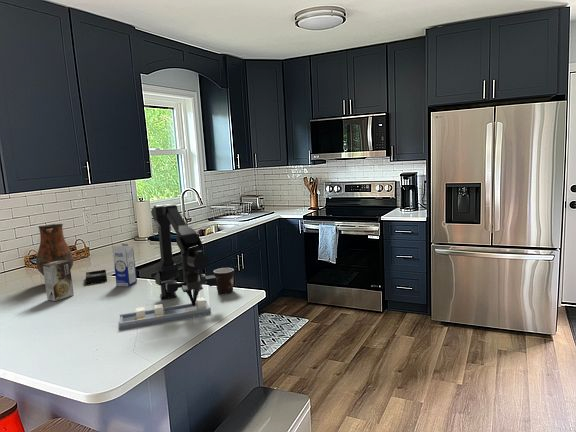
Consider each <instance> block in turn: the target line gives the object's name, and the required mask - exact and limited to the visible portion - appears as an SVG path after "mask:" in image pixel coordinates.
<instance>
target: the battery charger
mask: <svg viewBox="0 0 576 432" xmlns="http://www.w3.org/2000/svg"><path fill="white" fill-rule="evenodd" d="M107 276H108V275H107V271H106V269H102V270H94V271H87V272H85V285H86V286H89V285H95V284H101V283H106V282H108V277H107Z"/></svg>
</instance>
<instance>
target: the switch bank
mask: <svg viewBox="0 0 576 432" xmlns="http://www.w3.org/2000/svg"><path fill="white" fill-rule="evenodd" d="M205 302H206V308H202V309H198V308H197V306H196V303H195V306H193V305H192V302H189V303H181V304H178V305H176V304H175V305H171V306H170V305H169V306H163V312H164V315H159V316H155V311H154V308H153V309H147V310H146V309H145V318H141V319H137V318H136V311H134V312H133V311H132V312H126V313H120V314H119V321H118V322H119V323H118V325H119V330H121V331H122V330H126V329H131V328H136V327H138V328H139V327H143V326H149V325H153V324H159V323H160V324H161V323H166V322H172V321H177V320H183V319H188V318H194V316H195V317H200V316H199V315H201V316H204V314H206V315H210V313H211V314H212V312H211V311H212V309H211V307H210V305H209V304H208V302H207V300H205Z"/></svg>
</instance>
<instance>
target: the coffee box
mask: <svg viewBox="0 0 576 432" xmlns="http://www.w3.org/2000/svg"><path fill="white" fill-rule="evenodd" d="M43 272H44V275H43V279H44V284H45V291H46V299H47V300H48V301H52V302H56V301H60V300H63V299H66V298H69V297H71V296H74V294H75V293H74V287H73V278H72V271H71V270H70V264H69V261H66V260H59V261H55V262H51V263H47V264H43Z"/></svg>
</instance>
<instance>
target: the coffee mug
mask: <svg viewBox="0 0 576 432" xmlns="http://www.w3.org/2000/svg"><path fill="white" fill-rule="evenodd" d="M234 270H235V269H234V268H231V267H221V268H217V269H214V270H213V275H214V276H215V277H216V278H217V280H218V285H216V286H215V287H216V289H217V294H218V295H222V294H224V295H229V294H232V293H234V274H235V273H234V272H235V271H234Z"/></svg>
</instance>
